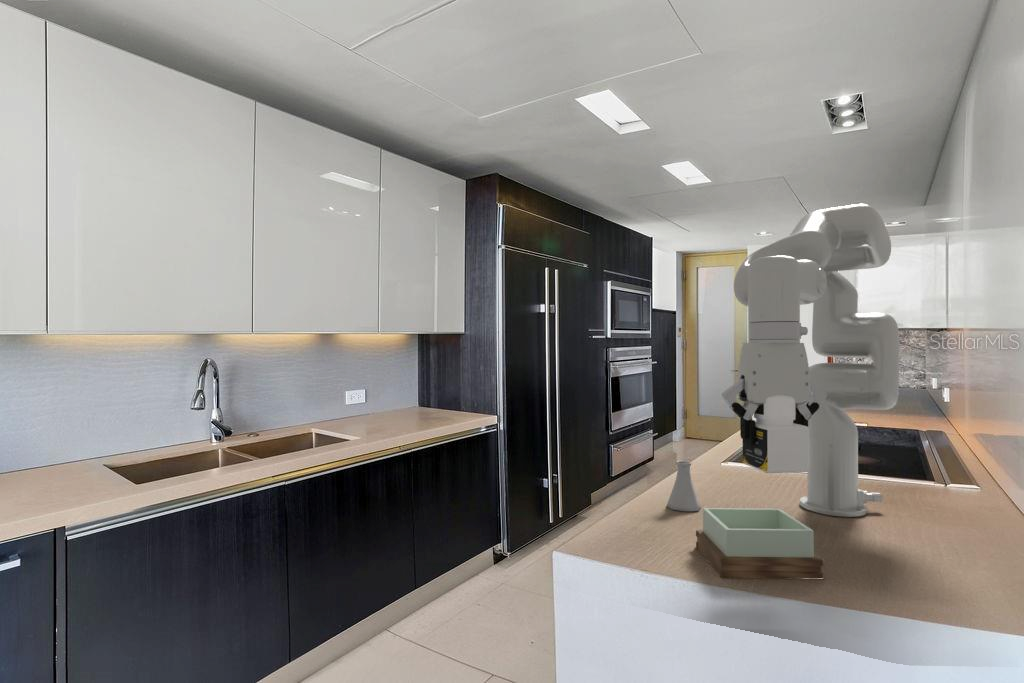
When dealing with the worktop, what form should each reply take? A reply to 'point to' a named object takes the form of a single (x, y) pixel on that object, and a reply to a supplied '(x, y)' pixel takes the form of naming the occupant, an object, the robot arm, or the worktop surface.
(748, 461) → the medicine bottle
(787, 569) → the brown wooden flat block
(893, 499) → the worktop surface
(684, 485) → the flask
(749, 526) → the sage crate
